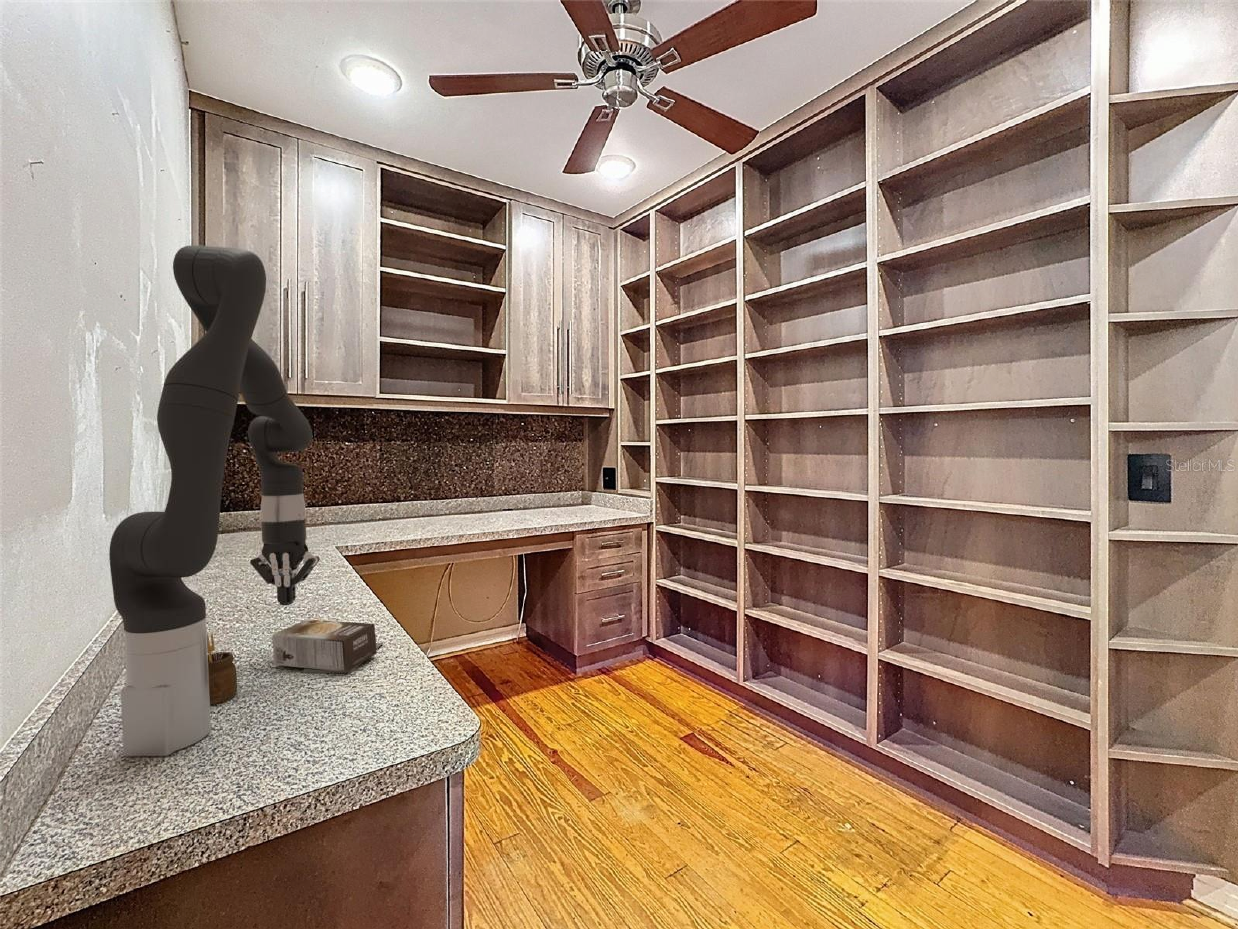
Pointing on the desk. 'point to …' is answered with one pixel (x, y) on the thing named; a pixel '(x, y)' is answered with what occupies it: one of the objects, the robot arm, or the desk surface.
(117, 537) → the robot arm
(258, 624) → the desk surface
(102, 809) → the desk surface
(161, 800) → the desk surface
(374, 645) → the coffee box
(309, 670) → the grey flat board
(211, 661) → the utensil holder
